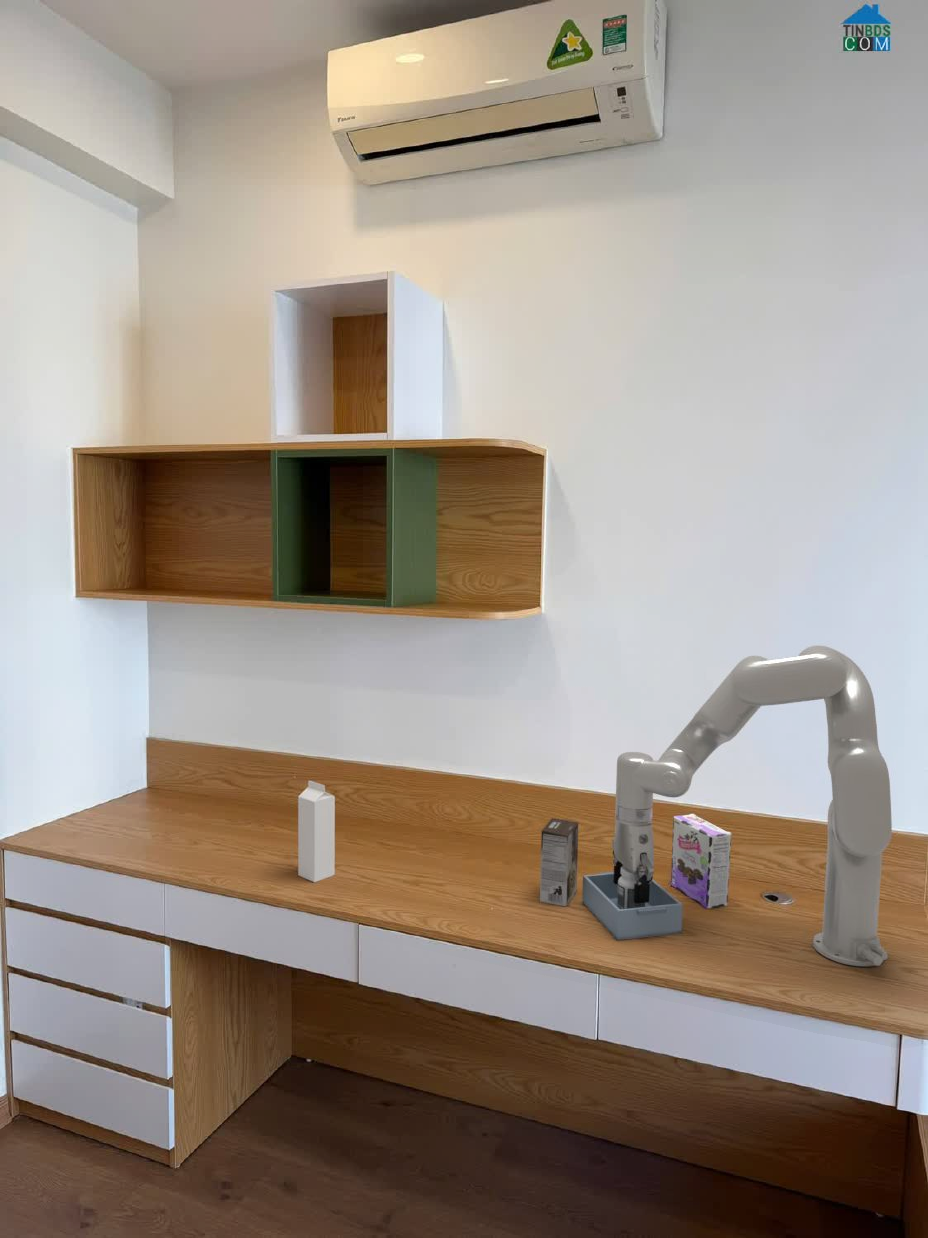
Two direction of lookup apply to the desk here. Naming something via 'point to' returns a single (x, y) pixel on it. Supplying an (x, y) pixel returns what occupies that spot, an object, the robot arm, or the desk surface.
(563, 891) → the coffee box
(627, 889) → the pill bottle
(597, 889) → the tote
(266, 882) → the desk surface
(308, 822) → the milk
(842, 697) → the robot arm
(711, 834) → the candy box
